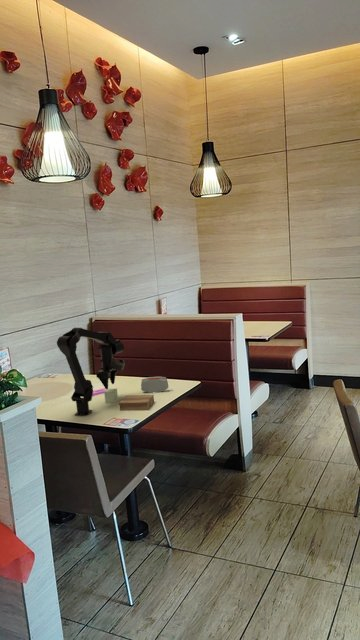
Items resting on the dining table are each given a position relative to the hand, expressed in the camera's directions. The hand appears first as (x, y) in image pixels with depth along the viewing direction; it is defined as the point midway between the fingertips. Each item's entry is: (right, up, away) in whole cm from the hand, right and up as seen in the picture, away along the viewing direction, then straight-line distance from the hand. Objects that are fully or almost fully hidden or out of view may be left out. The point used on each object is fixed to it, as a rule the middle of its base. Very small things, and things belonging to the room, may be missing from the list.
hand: (110, 386), depth 261 cm
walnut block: (+15, -9, -10) cm, 20 cm away
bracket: (-10, -7, +18) cm, 21 cm away
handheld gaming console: (+22, -5, +12) cm, 26 cm away
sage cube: (+1, -8, +1) cm, 8 cm away
